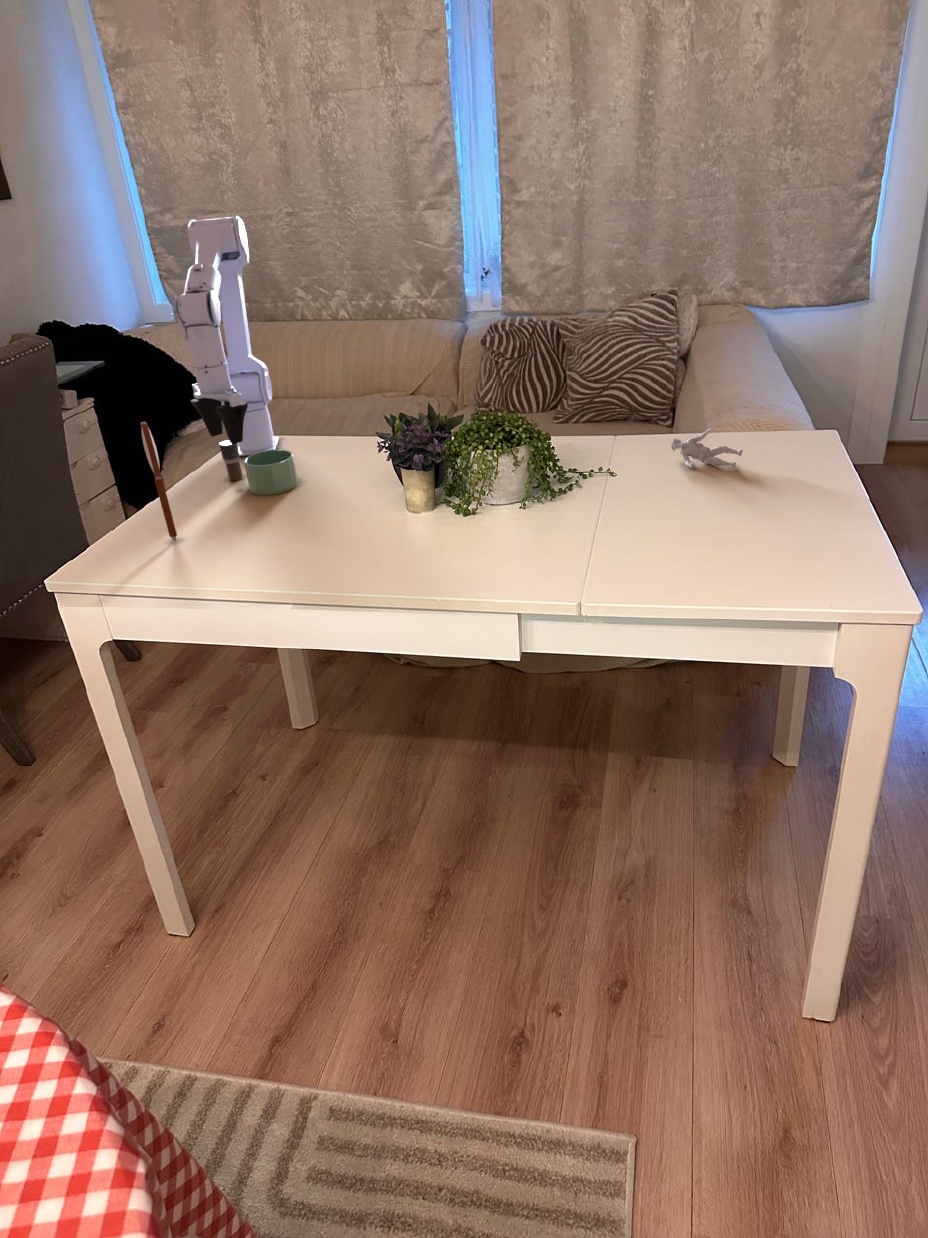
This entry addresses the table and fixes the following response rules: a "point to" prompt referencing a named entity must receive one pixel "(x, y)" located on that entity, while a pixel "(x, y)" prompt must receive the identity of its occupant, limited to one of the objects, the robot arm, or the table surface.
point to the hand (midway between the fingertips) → (226, 438)
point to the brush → (231, 460)
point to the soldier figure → (703, 451)
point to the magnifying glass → (158, 478)
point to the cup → (271, 472)
